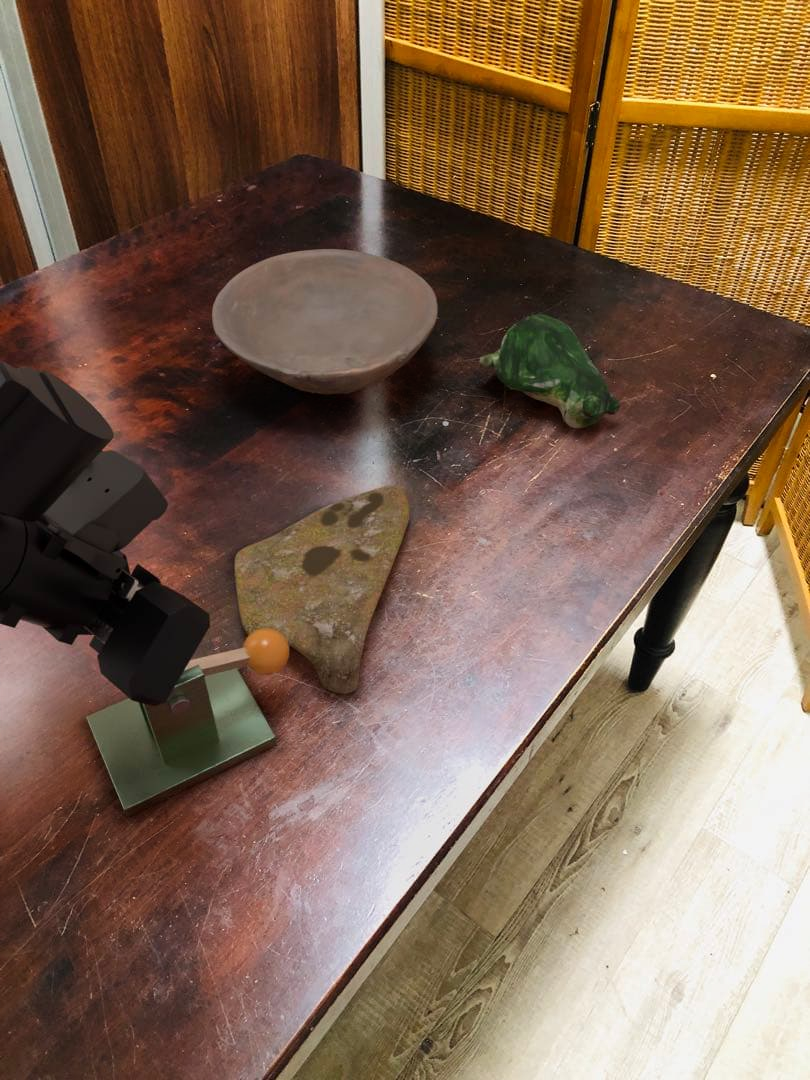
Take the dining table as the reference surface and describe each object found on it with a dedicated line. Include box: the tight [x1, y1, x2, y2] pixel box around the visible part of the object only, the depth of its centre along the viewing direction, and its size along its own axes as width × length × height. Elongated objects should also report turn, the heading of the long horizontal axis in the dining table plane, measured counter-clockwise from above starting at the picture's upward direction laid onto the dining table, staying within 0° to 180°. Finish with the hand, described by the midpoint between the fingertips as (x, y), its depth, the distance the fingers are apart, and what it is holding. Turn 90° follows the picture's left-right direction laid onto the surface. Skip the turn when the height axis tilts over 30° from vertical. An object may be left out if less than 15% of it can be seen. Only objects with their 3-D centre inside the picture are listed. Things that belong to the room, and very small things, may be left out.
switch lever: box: [184, 628, 290, 677], centre depth 66 cm, size 11×4×4 cm, turn 121°
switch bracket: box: [85, 665, 277, 818], centre depth 65 cm, size 12×9×10 cm
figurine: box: [477, 313, 621, 429], centre depth 97 cm, size 14×9×15 cm
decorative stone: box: [234, 484, 411, 694], centre depth 81 cm, size 25×15×5 cm, turn 165°
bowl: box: [211, 248, 439, 395], centre depth 100 cm, size 25×25×8 cm
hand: (180, 626), depth 62 cm, fingers closed
